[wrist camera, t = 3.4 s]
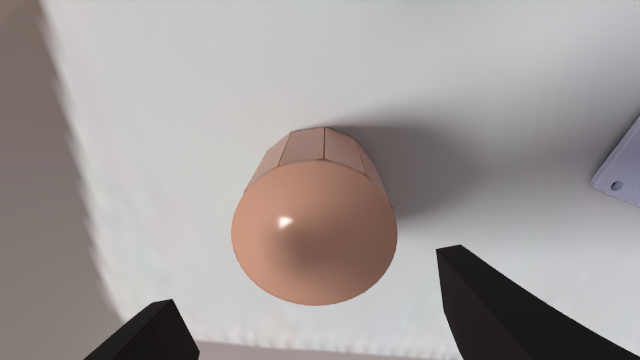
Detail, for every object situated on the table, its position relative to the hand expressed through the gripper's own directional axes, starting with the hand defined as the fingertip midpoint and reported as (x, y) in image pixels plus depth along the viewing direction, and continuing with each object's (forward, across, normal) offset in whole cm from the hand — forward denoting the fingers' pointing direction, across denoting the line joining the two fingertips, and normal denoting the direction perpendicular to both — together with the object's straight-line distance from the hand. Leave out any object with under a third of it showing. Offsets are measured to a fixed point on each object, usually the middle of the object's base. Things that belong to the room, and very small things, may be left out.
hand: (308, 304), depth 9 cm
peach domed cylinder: (+8, 0, 0) cm, 8 cm away
